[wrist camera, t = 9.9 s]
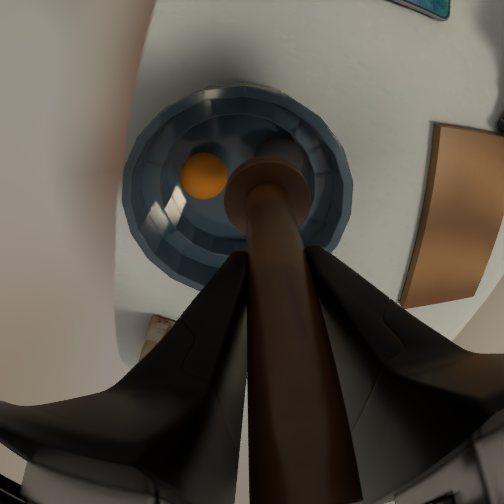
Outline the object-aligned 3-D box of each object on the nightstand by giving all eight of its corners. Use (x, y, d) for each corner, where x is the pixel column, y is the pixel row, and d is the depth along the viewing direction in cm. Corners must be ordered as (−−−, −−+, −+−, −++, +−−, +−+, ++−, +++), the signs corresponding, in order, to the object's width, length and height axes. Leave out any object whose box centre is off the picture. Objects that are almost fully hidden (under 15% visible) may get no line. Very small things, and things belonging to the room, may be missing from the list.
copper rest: (469, 290, 28) (473, 296, 27) (399, 302, 28) (402, 309, 28) (512, 137, 18) (519, 140, 17) (434, 123, 18) (441, 126, 18)
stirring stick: (310, 224, 14) (391, 502, 4) (233, 236, 14) (223, 525, 4) (302, 149, 12) (457, 459, 2) (216, 163, 12) (147, 500, 2)
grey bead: (272, 191, 17) (312, 157, 16) (239, 153, 17) (278, 120, 17) (279, 195, 20) (313, 166, 19) (250, 162, 20) (284, 134, 20)
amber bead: (211, 195, 21) (180, 209, 19) (197, 155, 20) (164, 165, 18) (243, 186, 19) (211, 201, 17) (228, 142, 18) (194, 151, 16)
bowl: (326, 248, 25) (342, 288, 20) (166, 259, 25) (153, 301, 21) (330, 79, 17) (356, 84, 13) (131, 98, 17) (100, 110, 13)
